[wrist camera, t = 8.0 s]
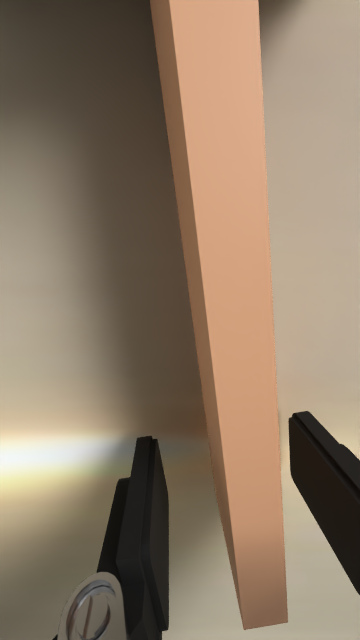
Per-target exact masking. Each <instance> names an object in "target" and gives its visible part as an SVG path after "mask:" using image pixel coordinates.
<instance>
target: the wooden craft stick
mask: <svg viewBox="0 0 360 640" xmlns="http://www.w3.org/2000/svg"><path fill="white" fill-rule="evenodd" d="M150 6H151V14H152V21H153V29H154V36H155V44H156V51H157V58H158V66H159V73H160V81H161V88H162V96H163V103H164V111H165V118H166V126H167V133H168V141H169V148H170V156H171V163H172V170H173V178H174V185H175V193H176V200H177V208H178V215H179V223H180V230H181V238H182V245H183V253H184V260H185V267H186V275H187V282H188V290H189V297H190V305H191V312H192V320H193V327H194V335H195V342H196V350H197V357H198V365H199V372H200V379H201V387H202V394H203V402H204V409H205V417H206V424H207V432H208V439H209V447H210V454H211V462H212V469H213V476H214V484H215V491H216V497H217V502H218V507H219V512H220V517H221V522H222V526H223V531H224V536H225V541H226V546H227V551H228V555H229V560H230V565H231V570H232V575H233V580H234V584H235V589H236V594H237V599H238V604H239V609H240V614H241V618H242V623H243V628H244V630H246V629H252V628H258V627H264V626H270V625H276V624H281V623H287V622H288V612H287V591H286V570H285V549H284V528H283V507H282V486H281V465H280V445H279V424H278V403H277V382H276V361H275V340H274V319H273V298H272V277H271V256H270V235H269V214H268V194H267V173H266V152H265V131H264V110H263V89H262V68H261V47H260V26H259V5H258V0H150Z"/></svg>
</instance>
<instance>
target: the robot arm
mask: <svg viewBox="0 0 360 640" xmlns="http://www.w3.org/2000/svg"><path fill="white" fill-rule="evenodd" d="M289 446H290V471H291V476H292V479H293V481H294V483H295V485H296V486H297V488H298V490H299V492H300V493H301V495H302V497H303V499H304V500H305V502H306V504H307V506H308V507H309V509H310V511H311V513H312V514H313V516H314V518H315V520H316V521H317V523H318V525H319V527H320V528H321V530H322V532H323V533H324V535H325V537H326V539H327V540H328V542H329V544H330V546H331V547H332V549H333V551H334V553H335V554H336V556H337V558H338V560H339V561H340V563H341V565H342V567H343V568H344V570H345V572H346V574H347V575H348V577H349V579H350V581H351V582H352V584H353V586H354V588H355V589H356V591H357V592H358V594H359V595H360V460H359V459H358V458H357V457H356V456H355V455H354V454H353V453H352V452H351V451H350V450H349V449H348V448H347V447H346V446H344V445H342V444H339V443H338V442H337V441H336V440H335V439H334V438H333V436H332V435H331V434H330V433H329V432H328V431H327V430H326V429H325V428H324V427H323V426H322V425H321V424H320V423H319V422H318V421H317V420H316V418H315V417H314V416H313V415H312V414H311V413H310V412H308V411H304V412H298V413H293V415H292V418H289ZM168 626H169V503H168V491H167V486H166V481H165V475H164V470H163V465H162V460H161V455H160V450H159V445H158V440H157V439H153V438H152V436H145V437H139V438H137V442H136V448H135V454H134V459H133V465H132V471H131V476H130V477H129V478H123V479H119V481H118V483H117V486H116V491H115V495H114V499H113V504H112V508H111V512H110V517H109V521H108V525H107V530H106V534H105V538H104V543H103V547H102V551H101V556H100V560H99V564H98V569H97V573H96V574H93V575H91V576H89V577H88V578H86V579H85V580H84V581H82V582H81V583H80V585H79V586H78V587H77V588H76V589H75V590H74V591H73V593H72V595H71V596H70V598H69V599H68V601H67V603H66V605H65V608H64V610H63V612H62V615H61V619H60V624H59V629H58V634H57V635H56V636H55V638H54V639H53V640H162V631H166V630H168Z"/></svg>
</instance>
